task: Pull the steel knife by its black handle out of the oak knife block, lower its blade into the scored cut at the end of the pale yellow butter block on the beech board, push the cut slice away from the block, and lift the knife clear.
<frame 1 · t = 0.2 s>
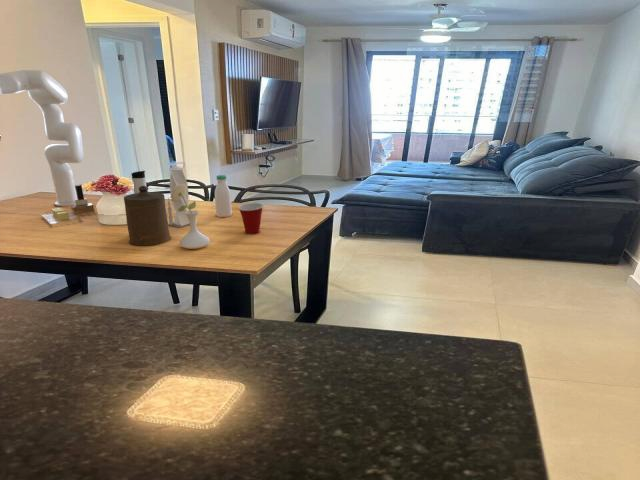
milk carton: (182, 224, 175), on the table
flower in vase: (193, 247, 148), on the table
milk bottle: (224, 215, 191), on the table
board: (61, 220, 179), on the table
travel mug: (143, 209, 200), on the table
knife: (81, 200, 185), in the knife block
plastic cup: (252, 232, 166), on the table
butter: (59, 215, 180), point 1 cm above the table, touching board
butter slice: (63, 219, 175), point 1 cm above the table, touching board
wooden container: (150, 240, 154), on the table
knife block: (83, 215, 187), on the table
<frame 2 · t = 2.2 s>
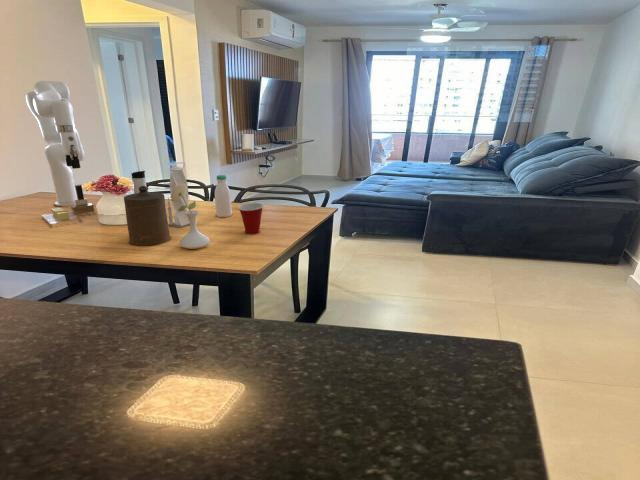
hand: (73, 167, 179), 24 cm above the table, tool pointing down, fingers open, 9 cm apart
nothing on the table moved.
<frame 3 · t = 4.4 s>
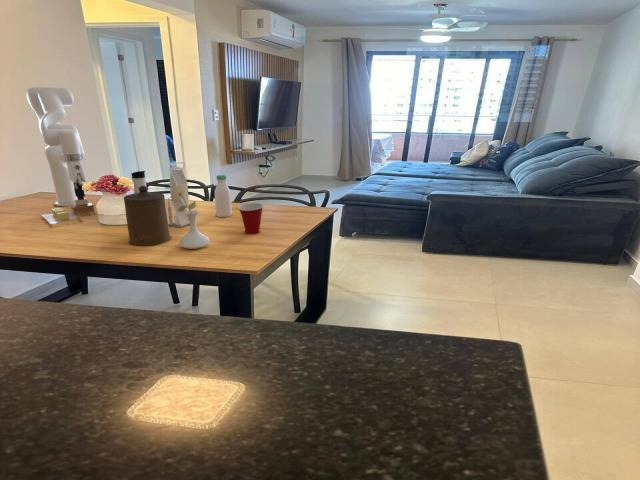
hand: (80, 196, 184), 10 cm above the table, tool pointing down, fingers closed on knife, 1 cm apart
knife: (81, 200, 185), in the knife block, touching gripper
everything else where it was.
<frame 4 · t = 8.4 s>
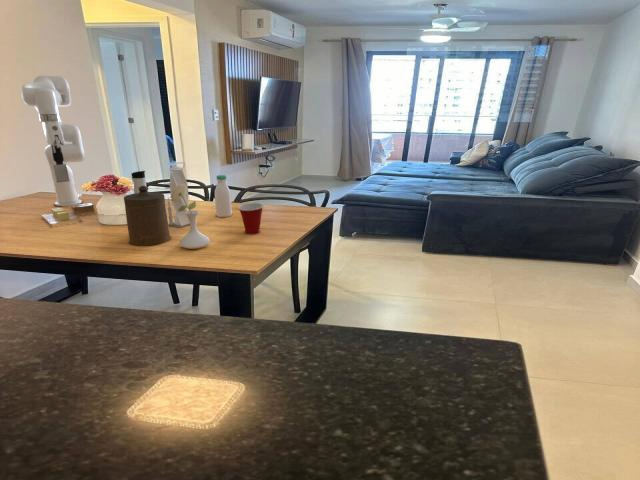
hand: (58, 161, 172), 27 cm above the table, tool pointing down, fingers closed on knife
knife: (59, 165, 173), point 25 cm above the table, touching gripper
everything else where it was.
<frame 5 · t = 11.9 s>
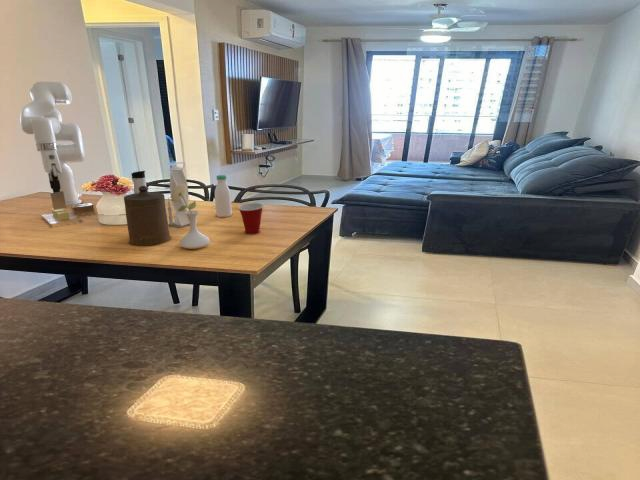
hand: (55, 188, 172), 15 cm above the table, tool pointing down, fingers closed on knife
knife: (56, 192, 173), point 13 cm above the table, touching gripper
everything else where it was.
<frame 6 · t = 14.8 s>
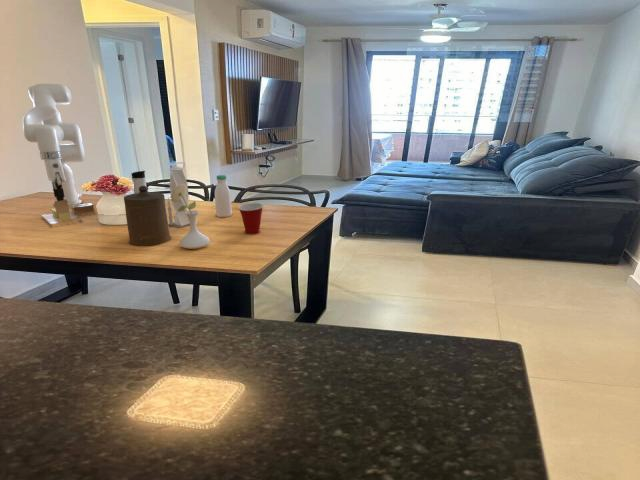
hand: (59, 196, 171), 12 cm above the table, tool pointing down, fingers closed on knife, 1 cm apart
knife: (60, 201, 171), point 10 cm above the table, touching butter slice, gripper
butter slice: (65, 220, 173), point 2 cm above the table, touching board, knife
everything else where it was.
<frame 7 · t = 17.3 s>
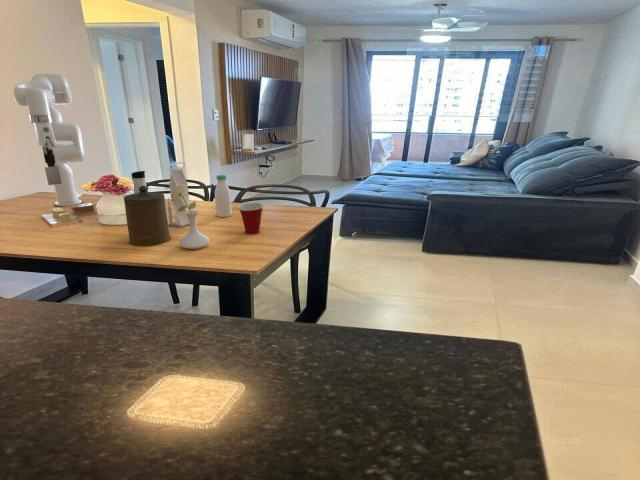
hand: (50, 162, 168), 27 cm above the table, tool pointing down, fingers closed on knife
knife: (51, 167, 168), point 25 cm above the table, touching gripper
butter slice: (65, 220, 173), point 1 cm above the table, touching board
everything else where it was.
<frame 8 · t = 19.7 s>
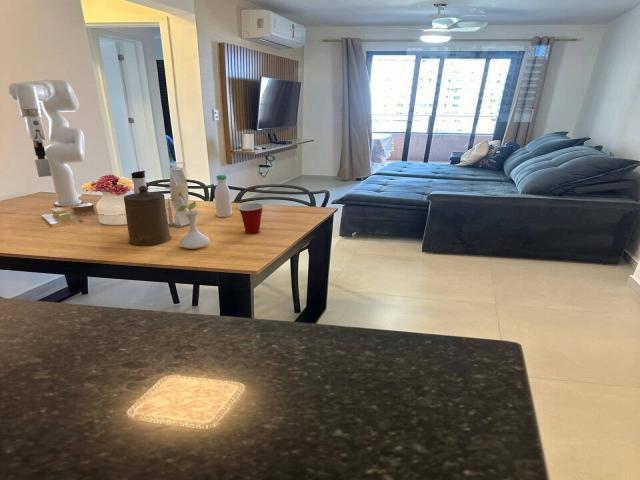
hand: (40, 155, 174), 29 cm above the table, tool pointing down, fingers closed on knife
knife: (41, 160, 175), point 27 cm above the table, touching gripper
everything else where it was.
at the end: butter slice 0.7 cm from the target spot on the table beside the butter, resting on board; butter moved 0.0 cm from its start; the gripper is holding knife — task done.
